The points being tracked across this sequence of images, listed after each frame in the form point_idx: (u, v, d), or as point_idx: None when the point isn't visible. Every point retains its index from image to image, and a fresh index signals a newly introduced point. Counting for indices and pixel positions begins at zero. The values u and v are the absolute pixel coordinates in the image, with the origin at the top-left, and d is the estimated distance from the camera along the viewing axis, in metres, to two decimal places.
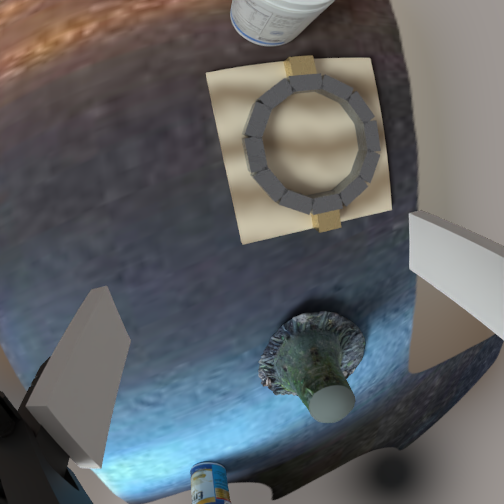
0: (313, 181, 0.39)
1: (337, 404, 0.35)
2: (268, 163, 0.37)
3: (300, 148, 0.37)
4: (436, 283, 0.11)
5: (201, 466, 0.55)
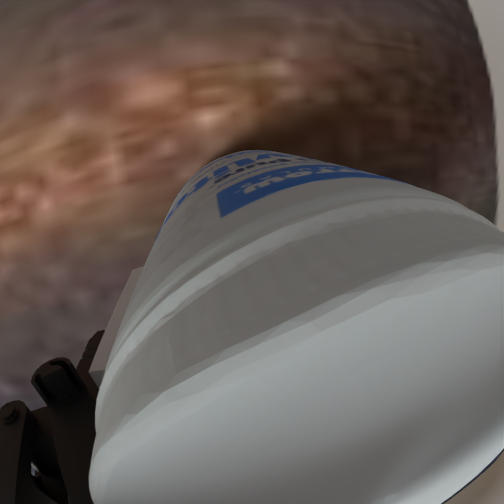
0: None
1: None
2: None
3: None
4: None
5: None
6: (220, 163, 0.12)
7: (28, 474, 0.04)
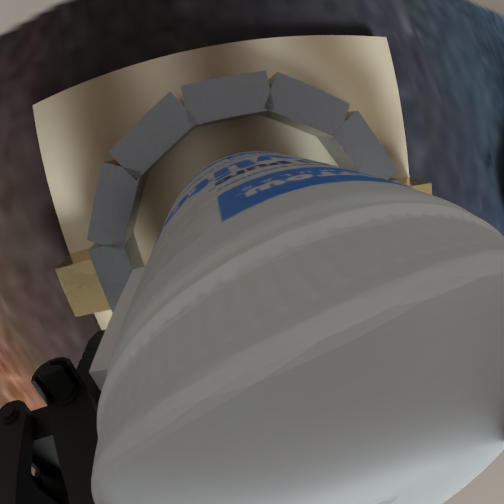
0: None
1: None
2: None
3: None
4: None
5: None
6: (220, 164, 0.12)
7: (29, 474, 0.04)
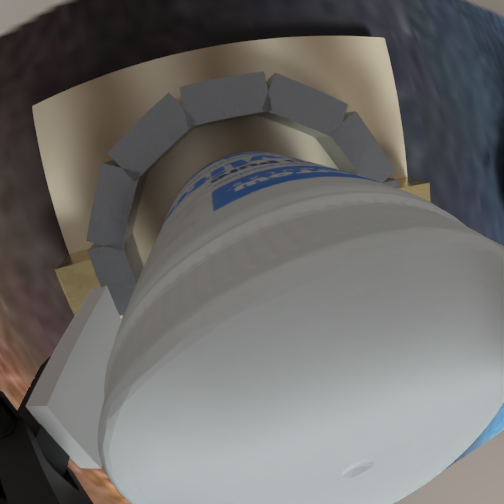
0: None
1: None
2: None
3: None
4: None
5: None
6: (218, 164, 0.13)
7: None
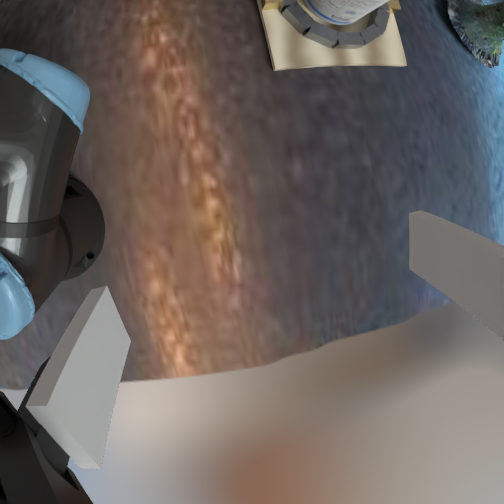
0: None
1: None
2: None
3: None
4: (436, 283, 0.11)
5: None
6: None
7: None
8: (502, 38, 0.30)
